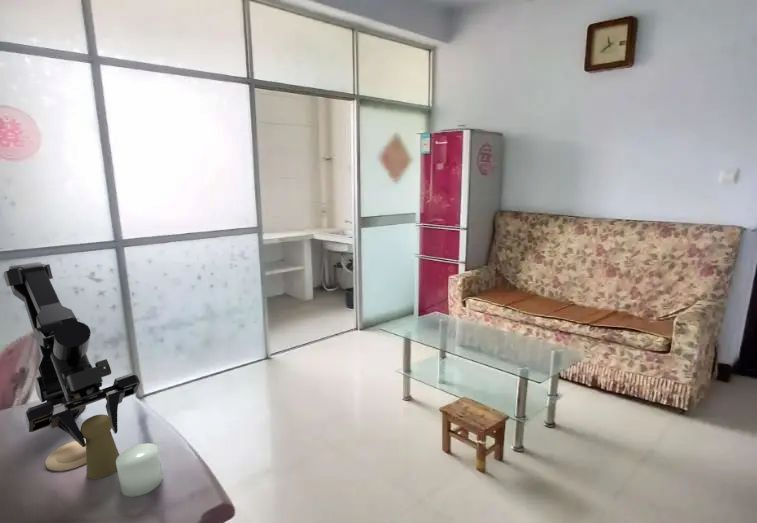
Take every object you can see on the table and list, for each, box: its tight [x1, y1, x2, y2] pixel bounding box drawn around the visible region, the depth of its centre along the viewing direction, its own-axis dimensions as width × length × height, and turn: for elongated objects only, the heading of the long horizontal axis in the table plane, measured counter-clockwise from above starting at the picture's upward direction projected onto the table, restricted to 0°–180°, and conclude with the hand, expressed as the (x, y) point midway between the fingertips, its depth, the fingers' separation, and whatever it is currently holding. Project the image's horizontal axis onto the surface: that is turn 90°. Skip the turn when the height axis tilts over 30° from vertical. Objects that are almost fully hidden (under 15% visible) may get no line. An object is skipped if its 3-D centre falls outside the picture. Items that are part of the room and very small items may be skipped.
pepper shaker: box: [79, 413, 120, 480], centre depth 85 cm, size 6×6×11 cm
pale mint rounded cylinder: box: [116, 442, 164, 498], centre depth 81 cm, size 7×7×6 cm
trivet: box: [45, 437, 86, 472], centre depth 91 cm, size 10×10×1 cm
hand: (100, 439), depth 84 cm, fingers closed on pepper shaker, 5 cm apart
